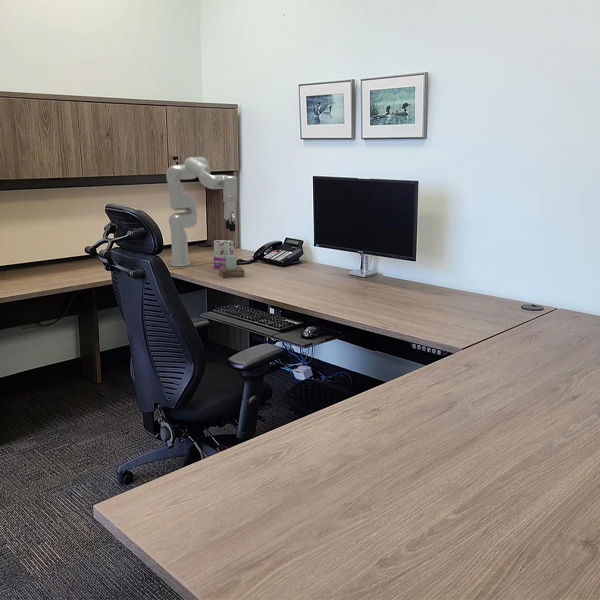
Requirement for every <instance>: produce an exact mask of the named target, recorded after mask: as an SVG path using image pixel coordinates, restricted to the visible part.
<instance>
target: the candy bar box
mask: <svg viewBox="0 0 600 600" xmlns="http://www.w3.org/2000/svg"><path fill="white" fill-rule="evenodd" d="M234 253H235V251H234V240H223V239H221V240H219V239H216V240H213V268H214V269H219V267H226V256H227V255H235V254H234Z"/></svg>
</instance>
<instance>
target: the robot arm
mask: <svg viewBox="0 0 600 600" xmlns="http://www.w3.org/2000/svg"><path fill="white" fill-rule="evenodd" d="M165 175H166V181H167V185H168V195H169V205H170V208H171V210H173V211H181V212H174V213H172V214H170V215H169V217H168V224H169V228H170V240H171V241H170V242H171V257H172V258H171V259H172V260H171V262H169V266H171V267H187V266H188V267H189V266H190V265H191V264H192V263H191V262H190V261H189V254H188V253H189V251H188V246H189V245H188V235H187V232H186V229H189V228H194V227H195V226H196V225H197V222H198V214H197V202H196V198H195V197H194V196H193V195H192V194H191V193H185V192H184V186H183V183H182V182H181V180H193V179H196V178H198V181H199V182H200V184H201V185H203V186H204V187H206V189H210V190H219V189H221V190H222V192H223V194H222V195H223V196H222V197H223V199H222V200H223V201H222V202H224V205H223V209H224V210H223V212H224V213H223V218H224V219H225V229H226V230H229V232H236V218H237V215H236V214H237V212H236V211H237V210H236V209H237V208H236V203H237V202H238V177H237V176H235V175H227V174H213V175H212V174H211V168H210V166H209V161H208V160H207V159H206V158H205V157H203V156H190V157H187V158H186V159H185V160H184V162H183V164H174V165H173V164H172V165H170V166H169V167H168V168H167V169H166V174H165ZM182 211H183V212H182Z"/></svg>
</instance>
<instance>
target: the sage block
mask: <svg viewBox="0 0 600 600" xmlns="http://www.w3.org/2000/svg"><path fill="white" fill-rule="evenodd" d="M237 266H238V265H237V256H236V255H235V254H234V255H227V256H226V268H227V269H237Z"/></svg>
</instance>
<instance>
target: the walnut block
mask: <svg viewBox="0 0 600 600" xmlns="http://www.w3.org/2000/svg"><path fill="white" fill-rule="evenodd" d="M218 274H219V275H220V276H221V278H222V277H223V279H226V278H227V279H229V277H234V278H245V269H244V268H242V267H241V265H237V269H227V268H226V267H219V268H218Z"/></svg>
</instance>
